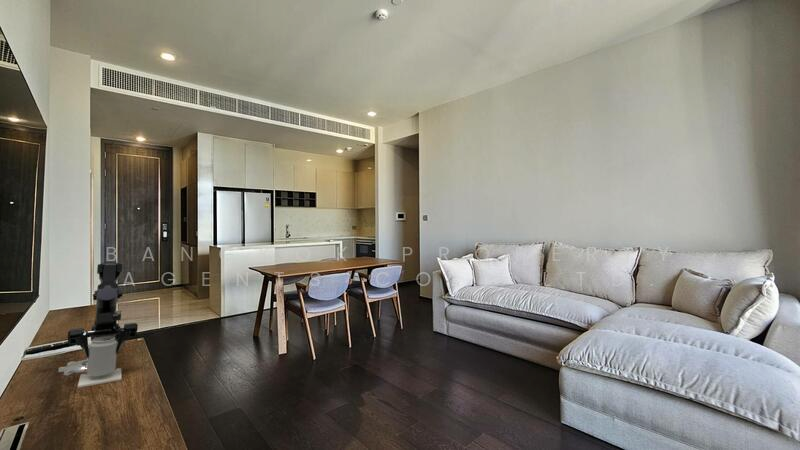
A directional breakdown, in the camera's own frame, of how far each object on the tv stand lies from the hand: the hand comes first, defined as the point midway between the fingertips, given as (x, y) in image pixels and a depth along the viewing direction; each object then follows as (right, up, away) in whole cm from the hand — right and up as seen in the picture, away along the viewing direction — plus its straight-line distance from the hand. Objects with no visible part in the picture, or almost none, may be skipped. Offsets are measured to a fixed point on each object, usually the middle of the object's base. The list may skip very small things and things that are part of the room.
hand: (102, 354), depth 117 cm
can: (-1, -7, +1) cm, 7 cm away
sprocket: (-14, -8, +10) cm, 19 cm away
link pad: (-1, -8, +1) cm, 8 cm away
